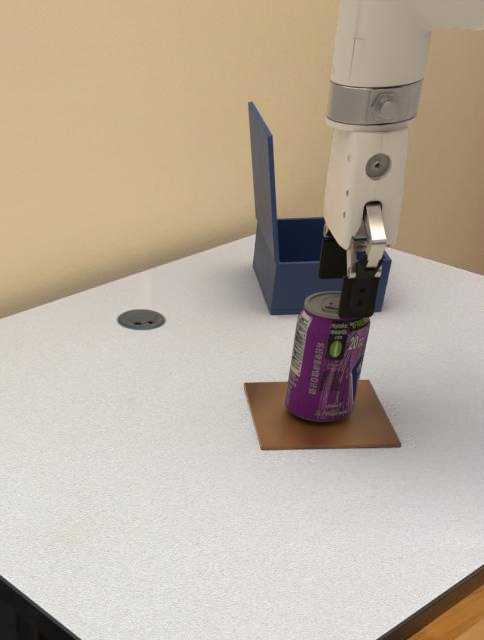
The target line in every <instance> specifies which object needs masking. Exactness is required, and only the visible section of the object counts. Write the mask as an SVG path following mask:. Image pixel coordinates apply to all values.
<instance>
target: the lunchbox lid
mask: <svg viewBox="0 0 484 640" xmlns="http://www.w3.org/2000/svg"><path fill="white" fill-rule="evenodd" d="M247 109H248V110H247V111H248V124H249V125H248V126H249V140H250V155H251V169H252V183H253V199H254V213H255V219H256V221H258V224H259V226H260V228H261V231H262V233H263V235H264V238H265V240H266V243H267V245H268V247H269V250H270V252H271V254H272V257H273V259H274V261H279V246H278V226H277V219H278V210H277V193H276V192H277V191H276V173H275V171H276V170H275V156H274V155H275V152H274V136H273V133H272V131H271V130H270V129H269V127H268V125H267V124H266V122H265V120H264V118H263V117H262V115H261V113H260V111H259V110H258V107H256V105H255V103H254V102H253V101H248V102H247Z"/></svg>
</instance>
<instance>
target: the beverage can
mask: <svg viewBox="0 0 484 640" xmlns="http://www.w3.org/2000/svg"><path fill="white" fill-rule="evenodd" d="M340 293H341V291H324V292H318V293H315V294H312V295H310V296H308V297H307V298H306V299H305V303H304V308H303V309H302V311H301V312H300V314H298V316H297V317H296V318H297V319H296V325H295V332H294V338H293V345H292V353H291V358H290V359H291V360H290V365H289V373H288V379H287V382H288V385H287V392H286V399H285V405H286V407H287V409H288V410H289V411H290V412H291V413H293V414H295V415H296V416H299V417H301V418H303V419H305V420H308V421H312V422H330V421H334V420H339V419H342V418H344V417H346V416H348V415H349V414H351V412H352V411H353V408H354V403H355V398H356V393H357V388H358V383H359V380H360V378H361V373H362V368H363V363H364V358H365V353H366V349H367V345H368V344H367V342H368V338H369V333H370V328H371V317H367V318H349V319H341V318H339V316H338V307H339V300H340Z"/></svg>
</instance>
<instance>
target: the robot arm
mask: <svg viewBox="0 0 484 640" xmlns="http://www.w3.org/2000/svg"><path fill="white" fill-rule="evenodd" d="M336 21H337V23H336V30H335V39H334V46H333V55H332V64H331V73H330V79H329V81H330V82H329V87H328V88H329V90H328V96H327V97H328V98H327V104H326V105H327V106H326V114H325V124H326V126H327V127H330V128H333V129H334V131H333V135H332V142H331V147H330V154H329V159H328V160H329V161H328V165H327V166H328V167H327V174H326V180H325V181H326V182H325V190H324V197H323V198H324V199H323V217H324V219H325V222H326V223H325V225H324V237H329V238H322V246H321V254H320V261H319V269H318V276H319V278H320V279H335V278H343V280H342V287H341V293H340V300H339V307H338V316H339V318H341V319H349V318H367V317H369V318H371V317H372V316H374V313H375V311H374V308H375V303H376V297H377V291H378V285H379V280H380V276H381V271H382V264H383V262H384V259H383V258H384V257H383V253H384V250H385V251H386V248H392V247H393V246H394V245H395V244H396V242H397V239H398V233H399V227H400V219H401V212H402V205H403V197H404V191H405V182H406V173H407V165H408V152H409V127H411V126H412V125H414V124H415V123H416V122H417V118H418V111H419V106H420V101H421V95H422V90H423V83H424V79H425V78H424V77H425V74H426V69H427V68H426V67H427V63H428V62H427V61H428V57H429V52H430V45H431V41H432V34H433V31H434V30H436V29H446V30H449V29H450V30H464V31H477V32H479V31H480V32H484V0H339V6H338V15H337V20H336ZM356 238H367V240H361V241H356ZM359 251H366V254H362V255H361V256H360V258H359V259H358V261H357V263H356V252H359Z"/></svg>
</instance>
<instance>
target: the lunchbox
mask: <svg viewBox="0 0 484 640" xmlns="http://www.w3.org/2000/svg"><path fill="white" fill-rule="evenodd" d="M256 221H257V220H256ZM325 223H326V222H325V219H324V216H310V217H308V216H307V217H283V218H282V217H281V218H277V226H278V246H279V261H274V259H273V257H272V254H271V252H270V250H269V247H268V245H267V243H266V240H265V238H264V235H263V233H262V231H261V228H260V226H259V224H258V221H257V222H256V230H255V238H254V249H253V259H252V269H253V271H254V274H255V276H256V277H255V278H256V279H257V282H258V285H259V288H260V290H261V293H262V296H263V299H264V302H265V304H266V306H267V309H268V313H269V315H270V316H271V315H299V314H300V312H301V311H302V309H303V308H304V303H305V299H306V298H307V297H308V296H310V295H312V294H315V293H318V292H324V291H341V287H342V280H343V278H335V279H320V278H319V276H318V269H319V261H320V254H321V246H322V238H329V237H324V225H325ZM361 240H367V238H356V241H361ZM362 254H366V251H359V252H356V263H357V261H358V259H359V258H360V256H361V255H362ZM383 257H384V258H383V259H384V262H383V264H382V271H381V276H380V280H379V285H378V291H377V297H376V303H375V308H374V312H382V310H383V307H384V301H385V295H386V291H387V286H388V281H389V278H390V277H389V276H390V271H391V267H392V262H393V261H392V258H391V257H390V255H389V254H388V252H387V251H386V249H385V250H384V253H383Z"/></svg>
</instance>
